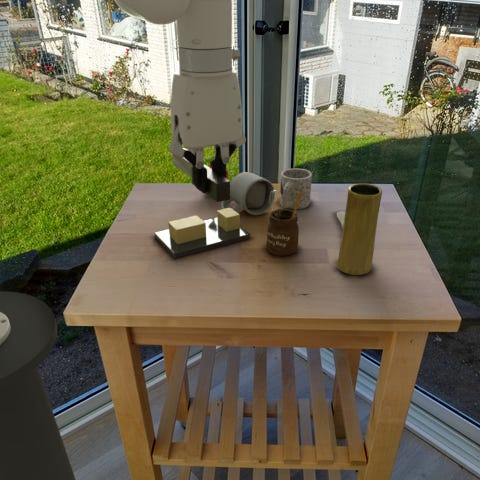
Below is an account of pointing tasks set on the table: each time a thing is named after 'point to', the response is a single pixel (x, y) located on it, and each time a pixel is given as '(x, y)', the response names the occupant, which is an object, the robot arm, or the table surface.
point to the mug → (295, 187)
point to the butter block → (187, 229)
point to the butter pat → (228, 219)
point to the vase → (359, 229)
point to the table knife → (215, 181)
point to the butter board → (202, 239)
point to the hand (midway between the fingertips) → (210, 187)
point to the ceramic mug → (250, 193)
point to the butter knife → (341, 217)
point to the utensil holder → (283, 229)
